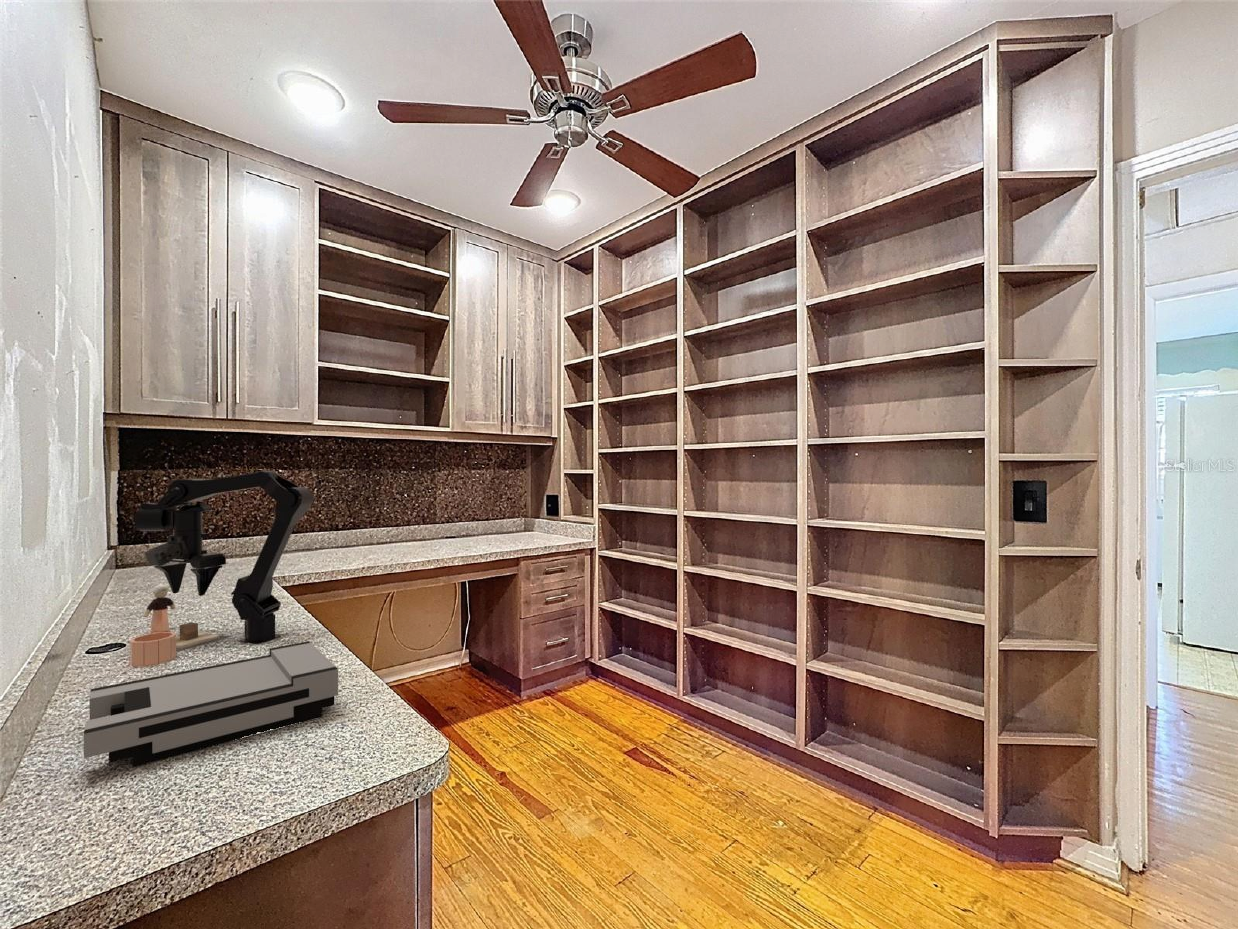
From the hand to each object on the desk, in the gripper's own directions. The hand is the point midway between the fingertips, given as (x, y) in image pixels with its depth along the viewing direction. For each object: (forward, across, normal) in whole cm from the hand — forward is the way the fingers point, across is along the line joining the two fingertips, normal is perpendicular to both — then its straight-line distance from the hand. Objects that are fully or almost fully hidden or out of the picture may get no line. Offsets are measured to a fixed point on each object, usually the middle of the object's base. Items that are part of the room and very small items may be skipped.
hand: (188, 594), depth 139 cm
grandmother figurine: (+12, -15, +3) cm, 19 cm away
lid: (+11, 0, 0) cm, 11 cm away
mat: (+12, 0, 0) cm, 12 cm away
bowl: (+12, +7, -12) cm, 18 cm away
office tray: (+12, +50, -28) cm, 59 cm away
